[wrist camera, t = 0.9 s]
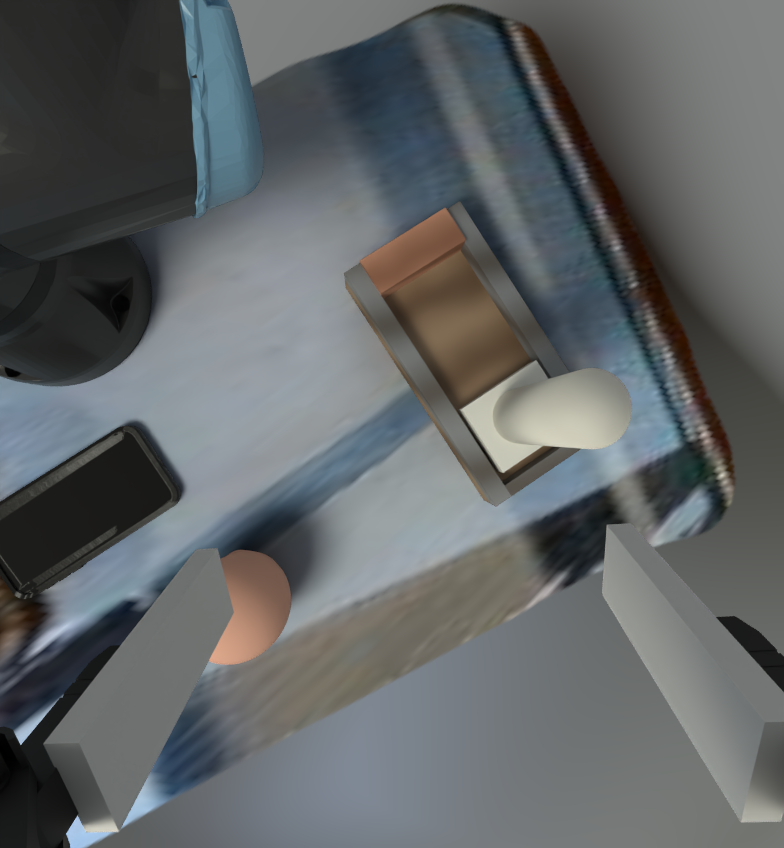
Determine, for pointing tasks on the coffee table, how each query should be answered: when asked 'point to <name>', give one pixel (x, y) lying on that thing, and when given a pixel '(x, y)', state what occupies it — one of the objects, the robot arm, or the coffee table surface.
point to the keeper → (548, 413)
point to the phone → (81, 510)
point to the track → (455, 334)
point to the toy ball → (252, 606)
